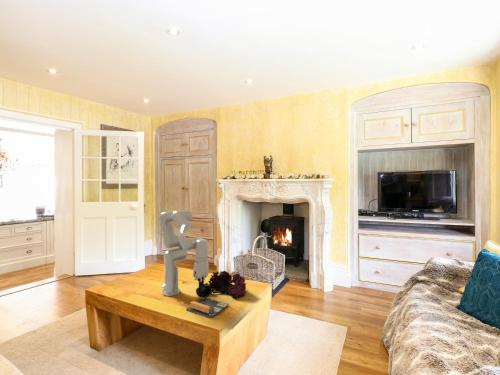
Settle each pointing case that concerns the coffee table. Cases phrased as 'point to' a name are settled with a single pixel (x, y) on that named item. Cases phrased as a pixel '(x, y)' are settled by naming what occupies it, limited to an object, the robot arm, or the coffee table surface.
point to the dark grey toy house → (204, 290)
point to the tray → (217, 306)
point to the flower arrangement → (228, 284)
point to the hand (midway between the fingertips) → (201, 287)
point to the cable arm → (202, 307)
